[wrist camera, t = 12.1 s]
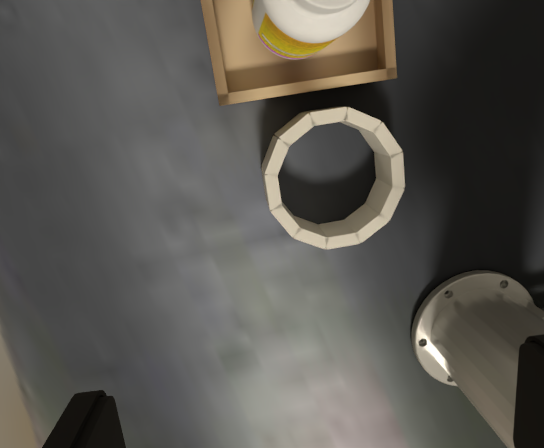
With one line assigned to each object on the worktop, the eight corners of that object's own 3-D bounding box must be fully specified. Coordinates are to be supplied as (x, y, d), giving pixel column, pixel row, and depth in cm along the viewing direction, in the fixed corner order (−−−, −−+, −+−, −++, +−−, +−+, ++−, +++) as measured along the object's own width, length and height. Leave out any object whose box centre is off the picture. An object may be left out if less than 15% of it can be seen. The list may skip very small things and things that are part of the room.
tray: (374, -87, 31) (386, -102, 29) (385, 79, 34) (396, 77, 32) (190, -62, 30) (187, -75, 28) (220, 105, 34) (219, 105, 32)
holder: (381, 99, 35) (399, 98, 31) (390, 222, 38) (407, 235, 34) (253, 119, 34) (255, 121, 31) (272, 242, 38) (277, 257, 34)
